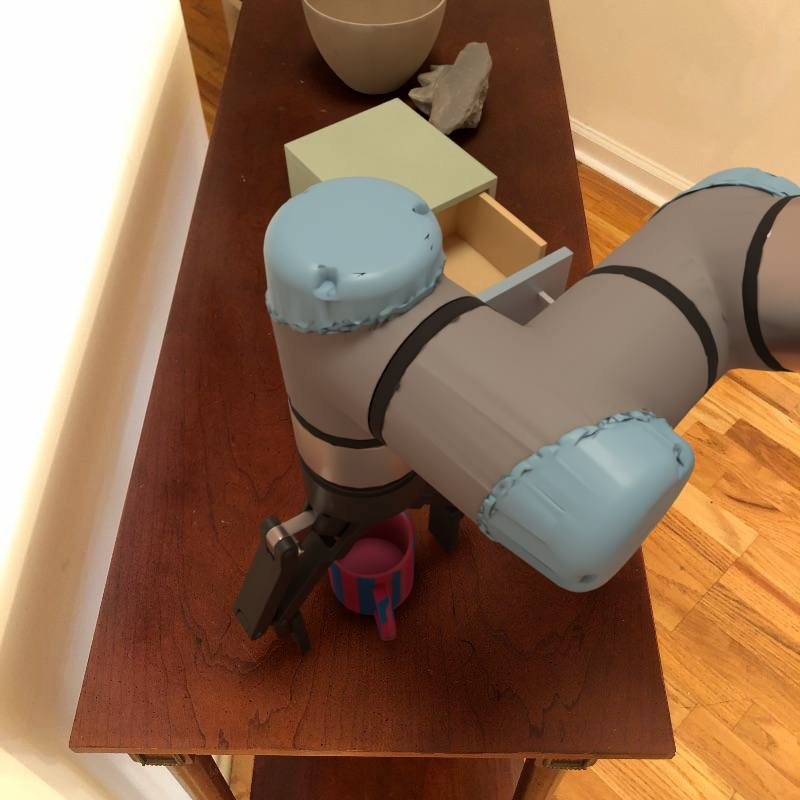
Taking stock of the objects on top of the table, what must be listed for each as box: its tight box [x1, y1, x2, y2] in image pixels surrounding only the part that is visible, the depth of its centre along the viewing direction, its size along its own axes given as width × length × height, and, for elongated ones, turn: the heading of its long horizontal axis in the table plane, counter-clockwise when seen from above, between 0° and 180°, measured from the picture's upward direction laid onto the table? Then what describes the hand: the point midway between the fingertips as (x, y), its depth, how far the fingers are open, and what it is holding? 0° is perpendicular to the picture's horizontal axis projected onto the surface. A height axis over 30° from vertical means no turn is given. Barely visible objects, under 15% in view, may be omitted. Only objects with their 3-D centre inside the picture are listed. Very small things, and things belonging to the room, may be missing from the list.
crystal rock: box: [408, 41, 493, 136], centre depth 96 cm, size 14×10×10 cm
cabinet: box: [283, 97, 498, 215], centre depth 82 cm, size 17×14×10 cm
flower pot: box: [301, 0, 448, 95], centre depth 101 cm, size 18×18×12 cm
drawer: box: [435, 191, 574, 326], centre depth 75 cm, size 21×13×8 cm, turn 36°
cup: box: [328, 510, 416, 642], centre depth 59 cm, size 7×10×7 cm
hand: (372, 587), depth 61 cm, fingers open, 13 cm apart
